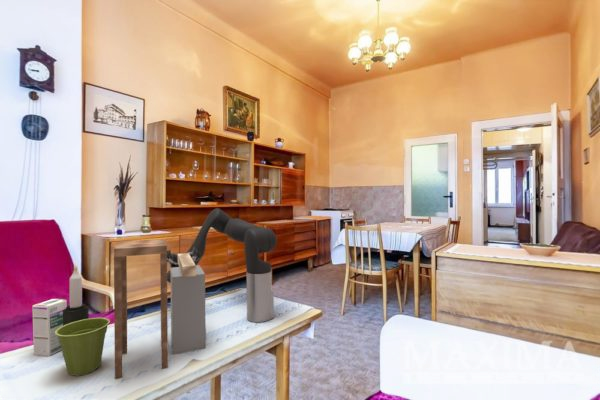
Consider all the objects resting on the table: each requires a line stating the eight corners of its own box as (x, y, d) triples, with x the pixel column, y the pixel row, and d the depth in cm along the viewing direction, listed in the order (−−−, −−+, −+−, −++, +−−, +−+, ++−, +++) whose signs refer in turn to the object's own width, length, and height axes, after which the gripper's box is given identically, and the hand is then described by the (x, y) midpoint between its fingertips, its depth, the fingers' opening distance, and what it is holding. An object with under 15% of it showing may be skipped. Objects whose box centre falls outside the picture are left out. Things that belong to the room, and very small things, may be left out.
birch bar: (188, 261, 112) (188, 253, 112) (196, 275, 90) (195, 265, 90) (177, 262, 110) (177, 253, 110) (182, 277, 88) (182, 266, 88)
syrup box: (49, 356, 88) (48, 305, 88) (32, 354, 89) (32, 304, 89) (68, 347, 93) (67, 299, 93) (52, 345, 95) (51, 298, 95)
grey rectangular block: (199, 330, 105) (199, 265, 105) (205, 348, 92) (205, 273, 92) (171, 335, 101) (170, 267, 101) (172, 354, 88) (172, 277, 88)
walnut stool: (166, 343, 95) (165, 239, 95) (167, 367, 81) (166, 245, 81) (121, 352, 90) (120, 241, 90) (114, 379, 76) (113, 248, 76)
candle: (90, 349, 92) (90, 265, 92) (72, 357, 87) (71, 268, 87) (80, 346, 94) (79, 263, 94) (61, 354, 89) (60, 267, 89)
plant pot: (96, 353, 89) (95, 314, 89) (119, 364, 83) (119, 322, 83) (46, 373, 79) (45, 329, 79) (68, 387, 73) (68, 339, 73)
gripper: (160, 258, 126) (161, 242, 113) (197, 255, 132) (201, 240, 119) (161, 276, 122) (161, 262, 109) (198, 272, 128) (203, 258, 115)
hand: (182, 250), depth 114 cm, fingers open, 8 cm apart
